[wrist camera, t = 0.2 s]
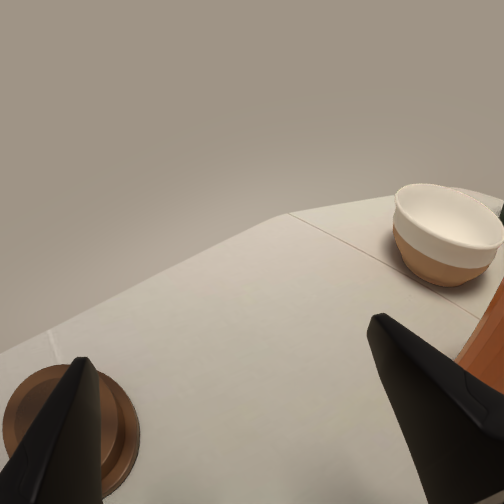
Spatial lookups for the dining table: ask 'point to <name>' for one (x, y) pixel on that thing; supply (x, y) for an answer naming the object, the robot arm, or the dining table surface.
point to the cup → (487, 345)
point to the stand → (112, 421)
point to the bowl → (445, 234)
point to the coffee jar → (502, 215)
